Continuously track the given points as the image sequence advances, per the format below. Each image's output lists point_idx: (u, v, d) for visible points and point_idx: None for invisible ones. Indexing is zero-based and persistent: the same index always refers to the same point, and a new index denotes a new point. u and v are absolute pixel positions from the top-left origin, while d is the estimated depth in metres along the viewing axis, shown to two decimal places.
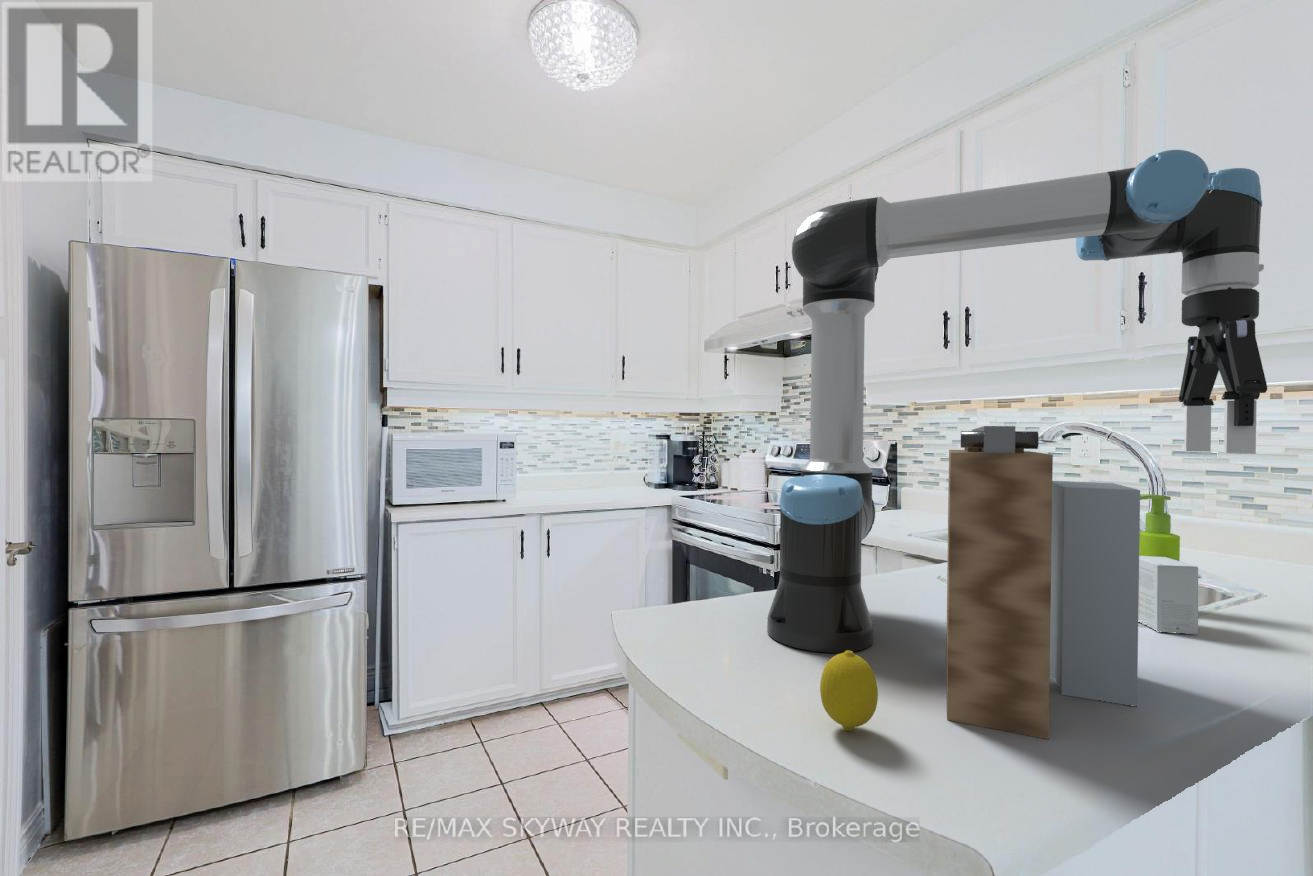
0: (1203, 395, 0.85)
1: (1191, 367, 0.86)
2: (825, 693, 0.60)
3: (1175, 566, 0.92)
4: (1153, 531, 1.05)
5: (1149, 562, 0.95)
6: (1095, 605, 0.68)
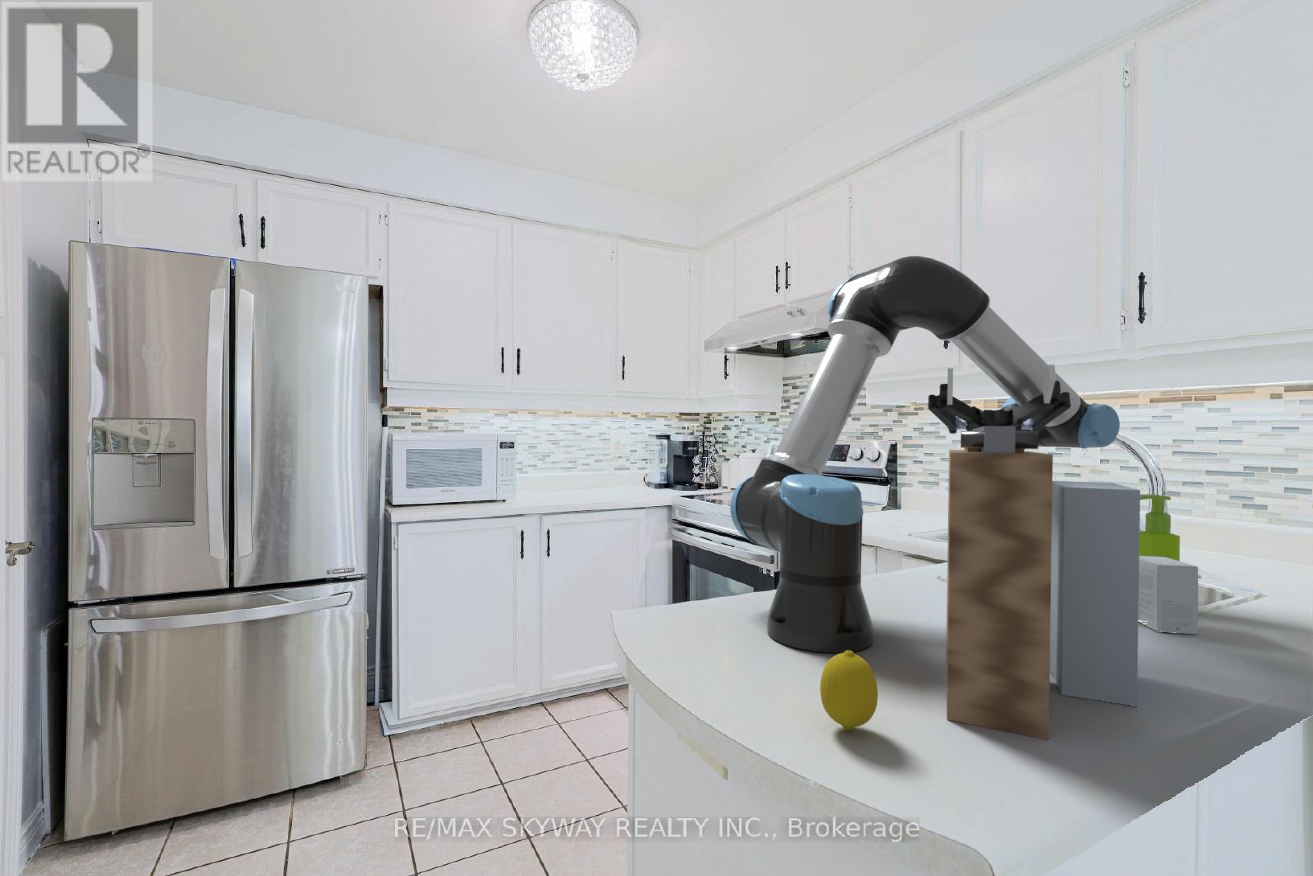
0: (953, 404, 1.01)
1: None
2: (824, 693, 0.60)
3: (1175, 566, 0.92)
4: (1153, 531, 1.05)
5: (1149, 562, 0.95)
6: (1095, 605, 0.68)
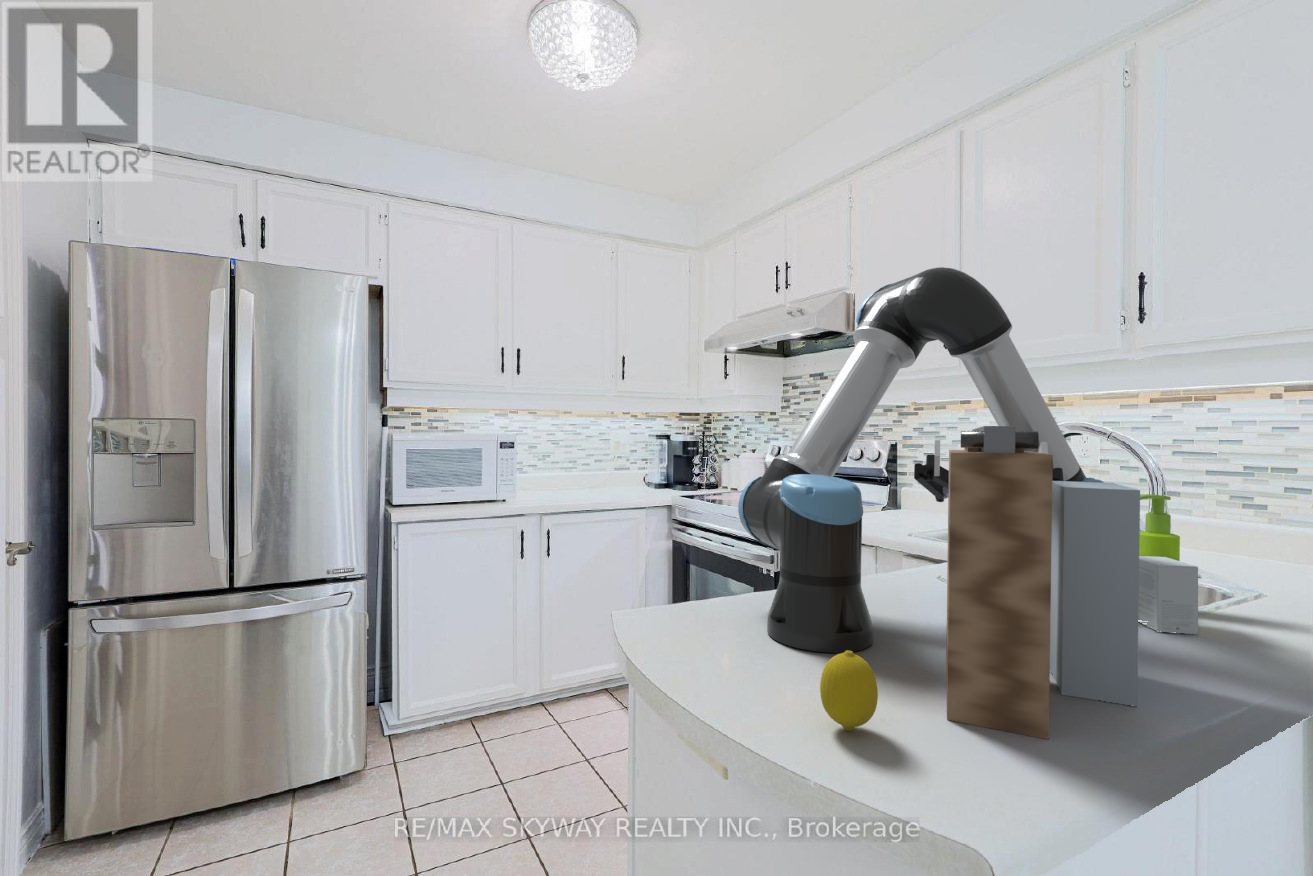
0: (940, 475, 0.96)
1: None
2: (824, 693, 0.60)
3: (1175, 566, 0.92)
4: (1153, 531, 1.05)
5: (1149, 562, 0.95)
6: (1095, 605, 0.68)
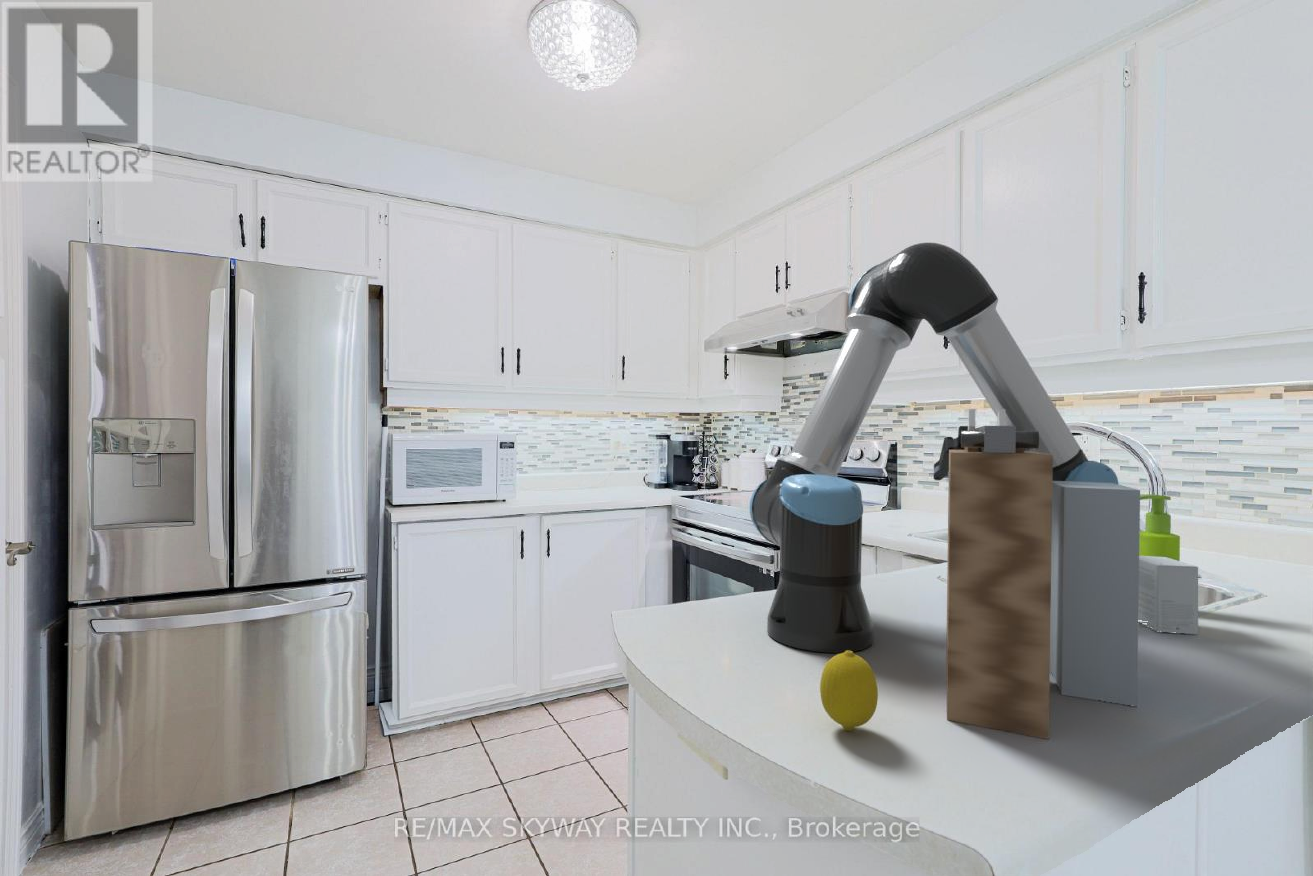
0: None
1: None
2: (824, 693, 0.60)
3: (1175, 566, 0.92)
4: (1153, 531, 1.05)
5: (1149, 562, 0.95)
6: (1095, 605, 0.68)
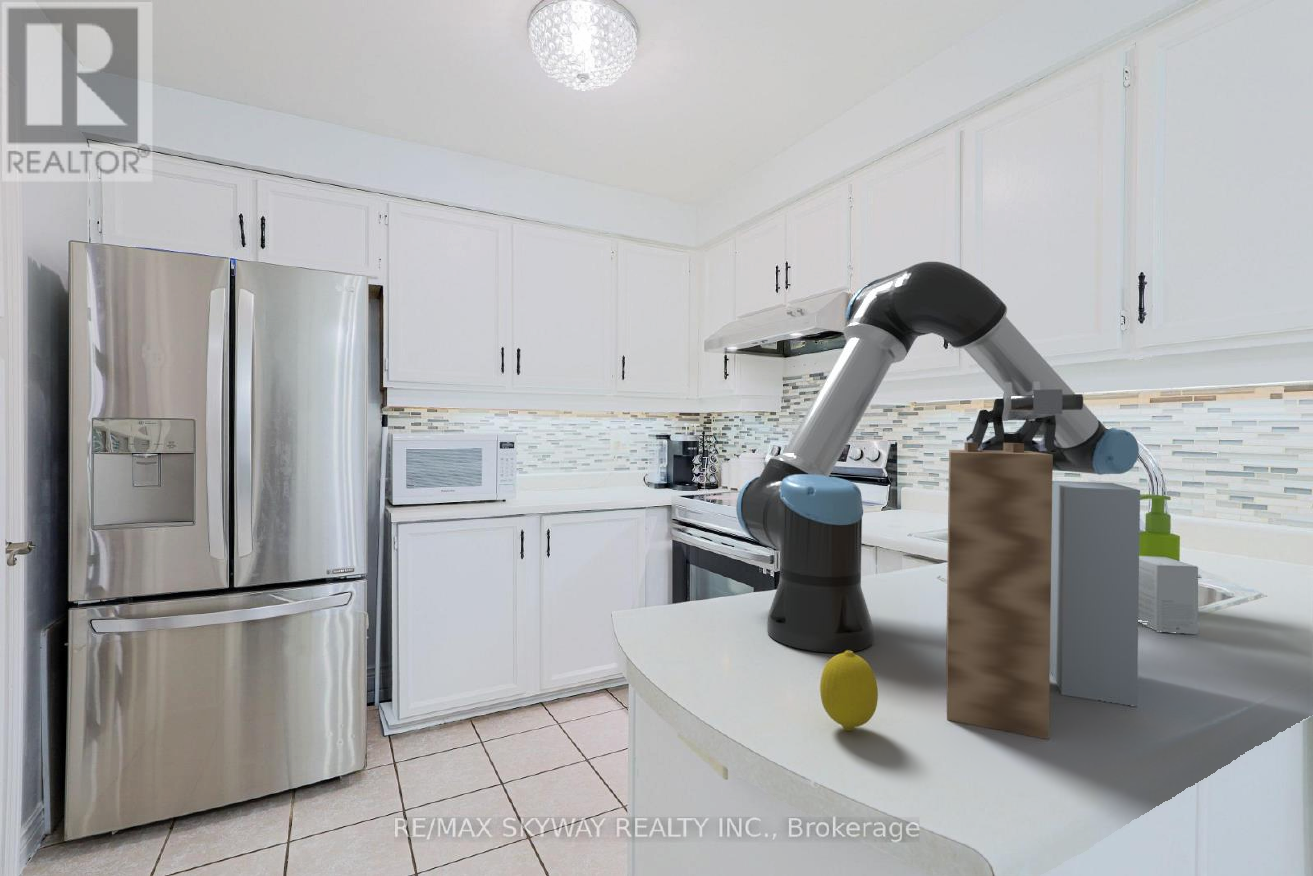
0: (1002, 423, 0.95)
1: None
2: (825, 693, 0.60)
3: (1175, 566, 0.92)
4: (1153, 531, 1.05)
5: (1149, 562, 0.95)
6: (1095, 605, 0.68)
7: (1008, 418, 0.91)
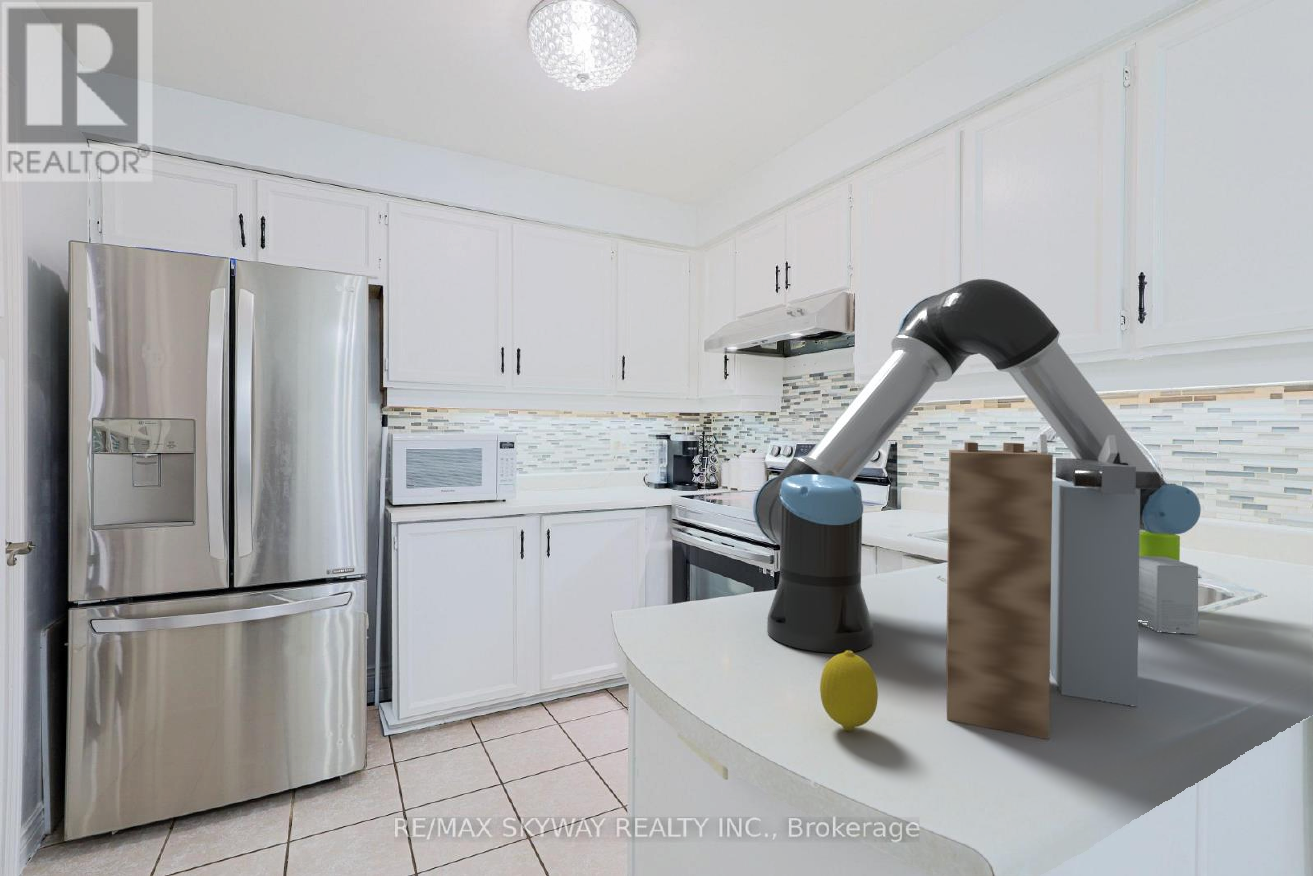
0: None
1: None
2: (824, 693, 0.60)
3: (1175, 566, 0.92)
4: None
5: (1149, 562, 0.95)
6: (1095, 605, 0.68)
7: (1060, 477, 0.84)
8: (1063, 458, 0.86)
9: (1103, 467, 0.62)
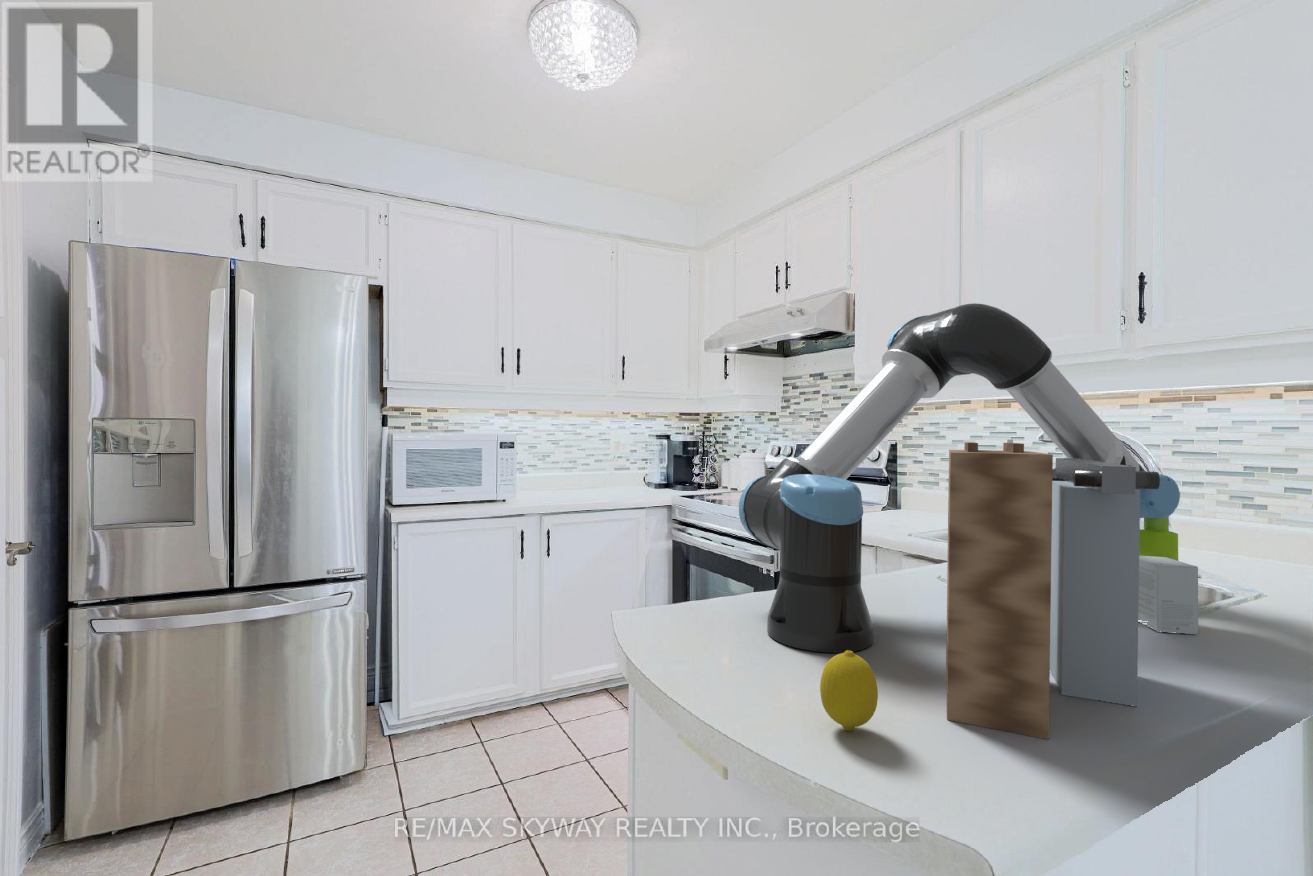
0: None
1: None
2: (825, 693, 0.60)
3: (1175, 566, 0.92)
4: (1151, 528, 1.06)
5: (1149, 562, 0.95)
6: (1095, 605, 0.68)
7: (1060, 477, 0.84)
8: (1063, 458, 0.86)
9: (1103, 467, 0.62)
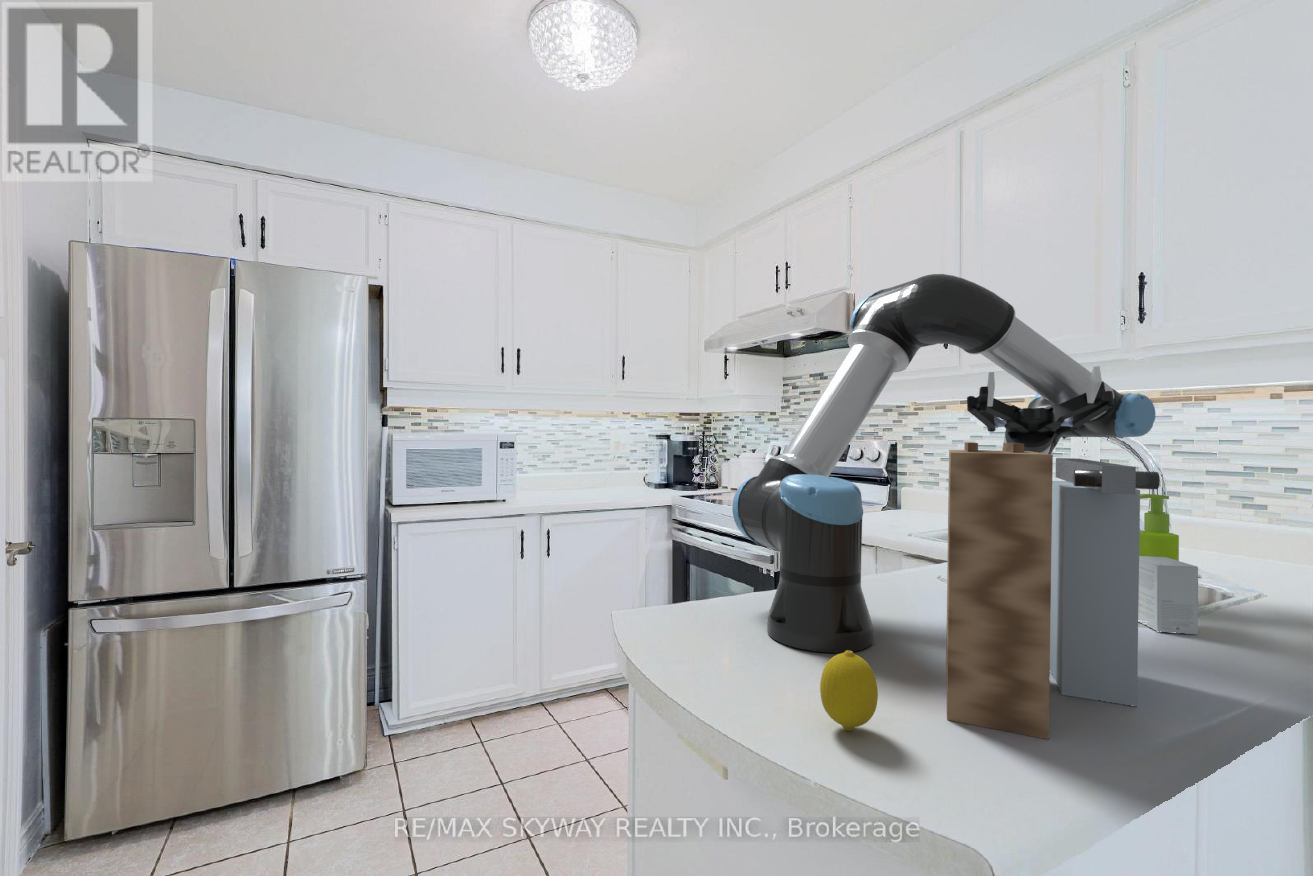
0: (992, 405, 1.02)
1: None
2: (824, 693, 0.60)
3: (1175, 566, 0.92)
4: (1152, 530, 1.05)
5: (1149, 562, 0.95)
6: (1095, 605, 0.68)
7: (1060, 477, 0.84)
8: (1063, 458, 0.86)
9: (1103, 467, 0.62)
